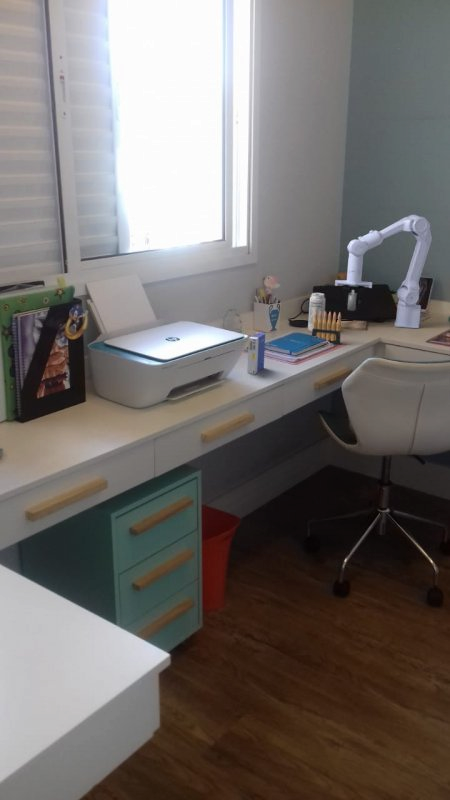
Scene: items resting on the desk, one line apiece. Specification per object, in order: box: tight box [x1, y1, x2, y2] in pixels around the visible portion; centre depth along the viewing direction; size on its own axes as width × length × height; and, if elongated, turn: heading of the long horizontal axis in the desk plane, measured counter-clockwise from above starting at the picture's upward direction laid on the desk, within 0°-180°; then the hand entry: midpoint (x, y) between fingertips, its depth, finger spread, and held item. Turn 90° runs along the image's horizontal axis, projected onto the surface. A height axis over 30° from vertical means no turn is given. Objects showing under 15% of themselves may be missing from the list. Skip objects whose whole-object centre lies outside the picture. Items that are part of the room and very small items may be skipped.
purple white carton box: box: [246, 331, 266, 375], centre depth 237 cm, size 8×3×12 cm, turn 155°
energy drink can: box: [307, 292, 326, 334], centre depth 286 cm, size 6×6×15 cm
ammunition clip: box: [311, 310, 342, 345], centre depth 272 cm, size 11×2×12 cm, turn 73°
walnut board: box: [336, 320, 367, 331], centre depth 299 cm, size 13×12×1 cm
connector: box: [346, 289, 357, 312], centre depth 295 cm, size 3×6×8 cm, turn 169°
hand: (351, 304), depth 296 cm, fingers closed on connector, 3 cm apart
